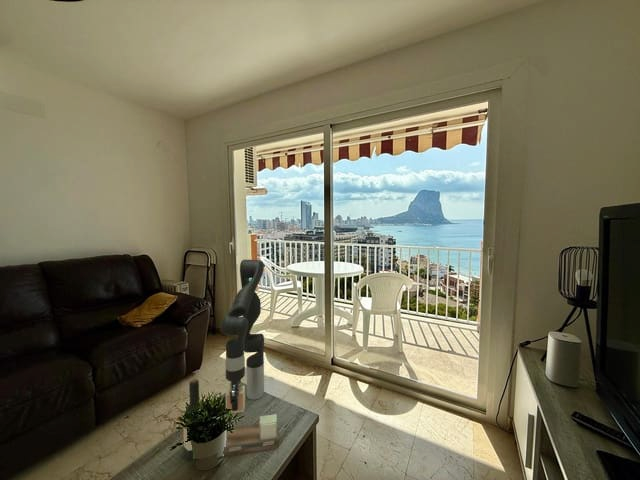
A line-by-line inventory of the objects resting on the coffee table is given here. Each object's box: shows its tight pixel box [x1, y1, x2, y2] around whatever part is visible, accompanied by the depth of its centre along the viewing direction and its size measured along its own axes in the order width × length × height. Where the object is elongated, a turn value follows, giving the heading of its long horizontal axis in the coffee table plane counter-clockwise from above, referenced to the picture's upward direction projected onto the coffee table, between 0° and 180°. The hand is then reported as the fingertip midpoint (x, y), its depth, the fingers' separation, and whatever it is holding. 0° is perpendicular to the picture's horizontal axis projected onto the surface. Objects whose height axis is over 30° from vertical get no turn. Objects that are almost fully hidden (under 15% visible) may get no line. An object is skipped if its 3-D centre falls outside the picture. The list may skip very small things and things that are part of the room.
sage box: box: [259, 413, 278, 441], centre depth 106 cm, size 5×7×8 cm
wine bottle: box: [183, 378, 200, 462], centre depth 101 cm, size 8×8×30 cm
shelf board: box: [223, 423, 279, 458], centre depth 107 cm, size 12×24×4 cm, turn 101°
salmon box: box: [225, 385, 246, 414], centre depth 103 cm, size 5×7×8 cm
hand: (235, 405), depth 103 cm, fingers closed on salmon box, 4 cm apart
